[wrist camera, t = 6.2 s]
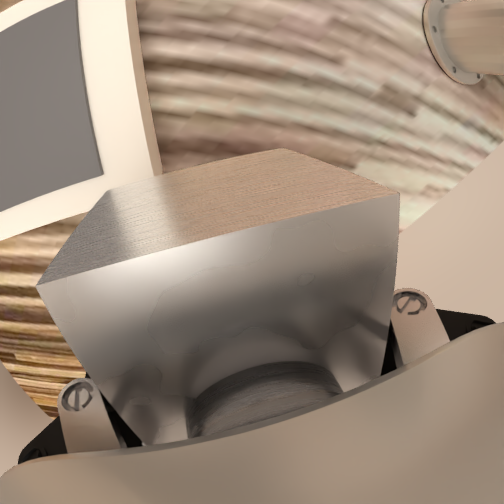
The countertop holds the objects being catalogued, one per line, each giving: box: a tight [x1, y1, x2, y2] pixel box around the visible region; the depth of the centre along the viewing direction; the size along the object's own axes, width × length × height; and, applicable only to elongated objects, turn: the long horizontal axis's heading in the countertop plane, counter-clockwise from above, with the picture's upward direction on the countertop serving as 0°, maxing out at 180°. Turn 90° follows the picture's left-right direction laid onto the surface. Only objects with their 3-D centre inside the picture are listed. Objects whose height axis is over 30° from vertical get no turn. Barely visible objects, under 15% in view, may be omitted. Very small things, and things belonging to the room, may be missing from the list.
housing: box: [36, 148, 400, 446], centre depth 8 cm, size 6×9×7 cm, turn 10°
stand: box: [0, 0, 163, 241], centre depth 16 cm, size 16×16×9 cm
